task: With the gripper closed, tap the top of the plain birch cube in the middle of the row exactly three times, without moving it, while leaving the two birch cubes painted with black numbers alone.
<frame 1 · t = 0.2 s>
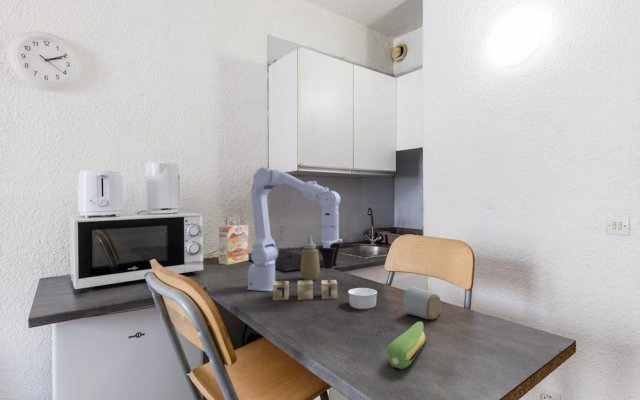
hand: (330, 266, 114), 10 cm above the table, tool pointing down, fingers open, 7 cm apart
numbered block seven: (281, 297, 112), on the table
edible corn: (411, 354, 71), on the table
coffeecake box: (234, 262, 177), on the table
plain block: (305, 297, 112), on the table
grey and brown cylinder: (424, 316, 94), on the table
ramekin: (362, 306, 103), on the table
numbered block one: (329, 296, 113), on the table
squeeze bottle: (310, 279, 137), on the table
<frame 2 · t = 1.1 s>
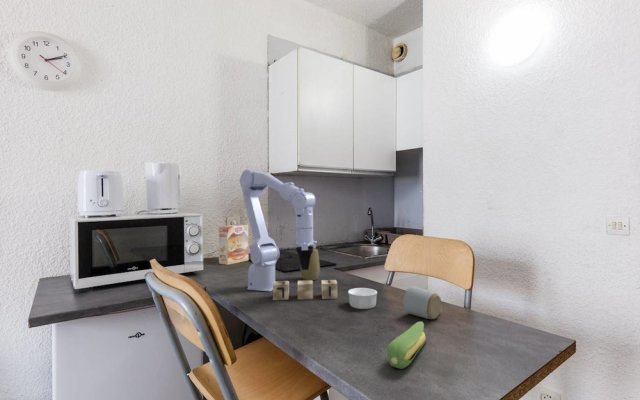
hand: (305, 268, 112), 9 cm above the table, tool pointing down, fingers closed
nothing on the table moved.
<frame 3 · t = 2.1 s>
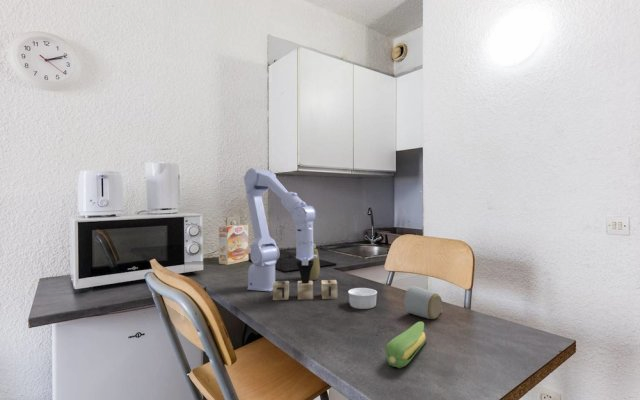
hand: (305, 282, 112), 5 cm above the table, tool pointing down, fingers closed, pressing on plain block
plain block: (305, 297, 112), on the table, touching gripper
everything else where it was.
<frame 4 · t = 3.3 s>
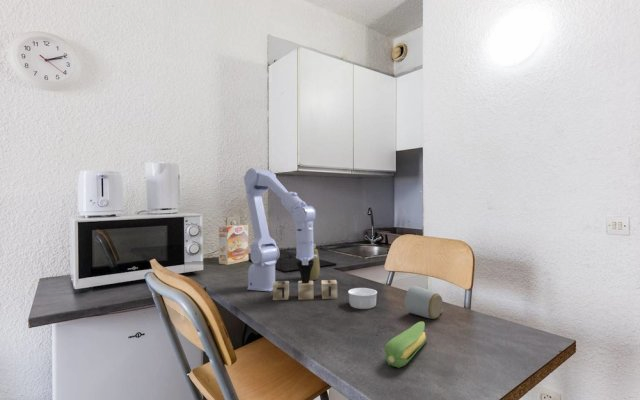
hand: (305, 282, 112), 5 cm above the table, tool pointing down, fingers closed, pressing on plain block
plain block: (305, 297, 112), on the table, touching gripper
everything else where it was.
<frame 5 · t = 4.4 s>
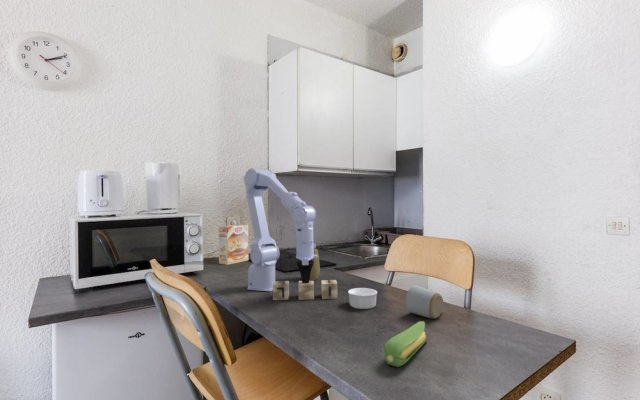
hand: (305, 282, 112), 5 cm above the table, tool pointing down, fingers closed, pressing on plain block
plain block: (306, 297, 112), on the table, touching gripper
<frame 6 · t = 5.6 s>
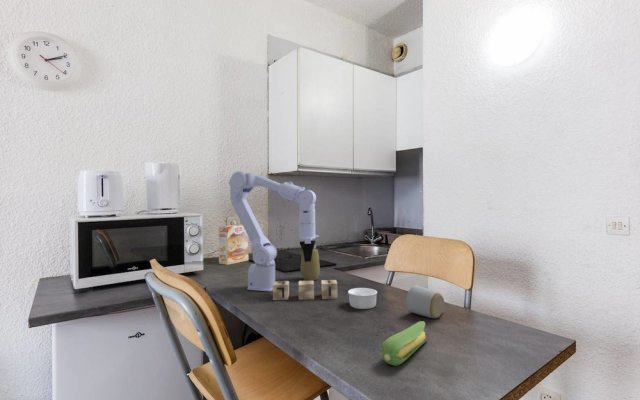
hand: (307, 261, 120), 10 cm above the table, tool pointing down, fingers closed
plain block: (306, 297, 112), on the table
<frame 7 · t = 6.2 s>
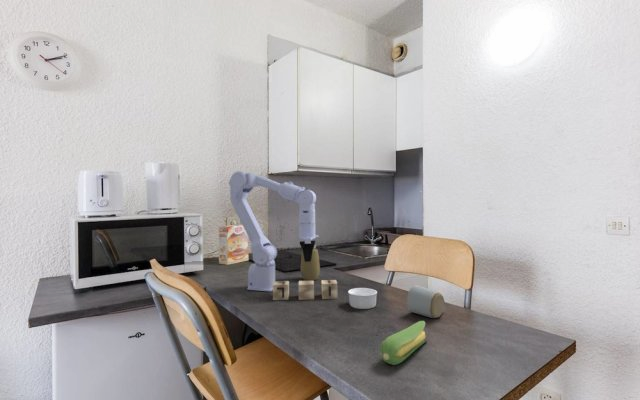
hand: (307, 261, 120), 10 cm above the table, tool pointing down, fingers closed
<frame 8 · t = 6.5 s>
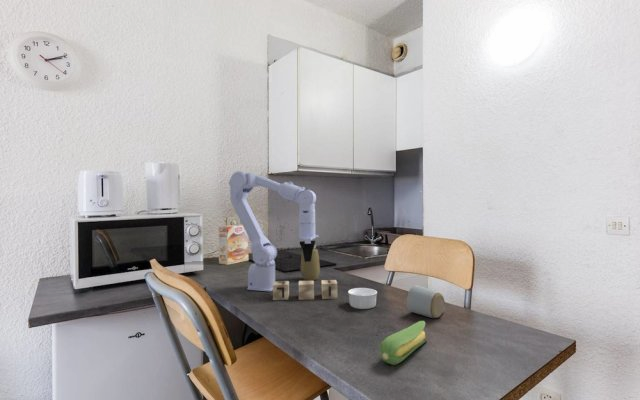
hand: (307, 261, 120), 10 cm above the table, tool pointing down, fingers closed
at the end: plain block moved 0.5 cm from its start; plain block tilted 0°; plain block touching table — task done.
